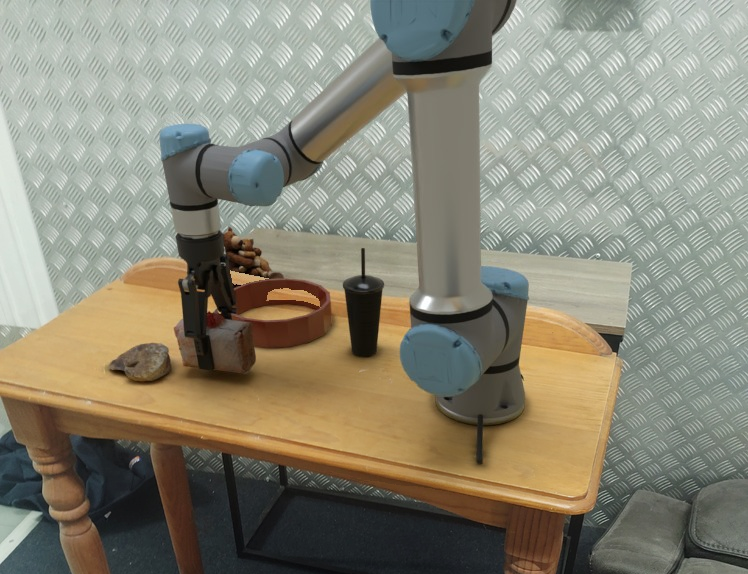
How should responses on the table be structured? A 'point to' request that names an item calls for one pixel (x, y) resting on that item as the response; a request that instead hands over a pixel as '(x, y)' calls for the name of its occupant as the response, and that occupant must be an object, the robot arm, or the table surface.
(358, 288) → the drinking cup
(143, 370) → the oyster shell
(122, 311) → the table surface
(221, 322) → the food item
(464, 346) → the robot arm
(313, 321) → the reddish-brown round ring
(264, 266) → the bear figurine
